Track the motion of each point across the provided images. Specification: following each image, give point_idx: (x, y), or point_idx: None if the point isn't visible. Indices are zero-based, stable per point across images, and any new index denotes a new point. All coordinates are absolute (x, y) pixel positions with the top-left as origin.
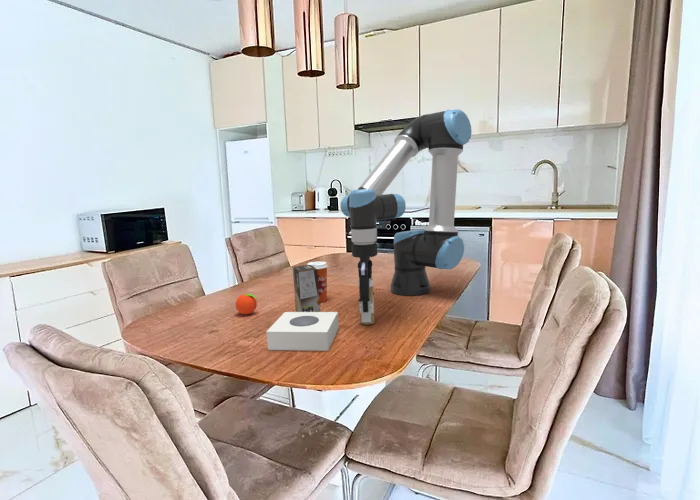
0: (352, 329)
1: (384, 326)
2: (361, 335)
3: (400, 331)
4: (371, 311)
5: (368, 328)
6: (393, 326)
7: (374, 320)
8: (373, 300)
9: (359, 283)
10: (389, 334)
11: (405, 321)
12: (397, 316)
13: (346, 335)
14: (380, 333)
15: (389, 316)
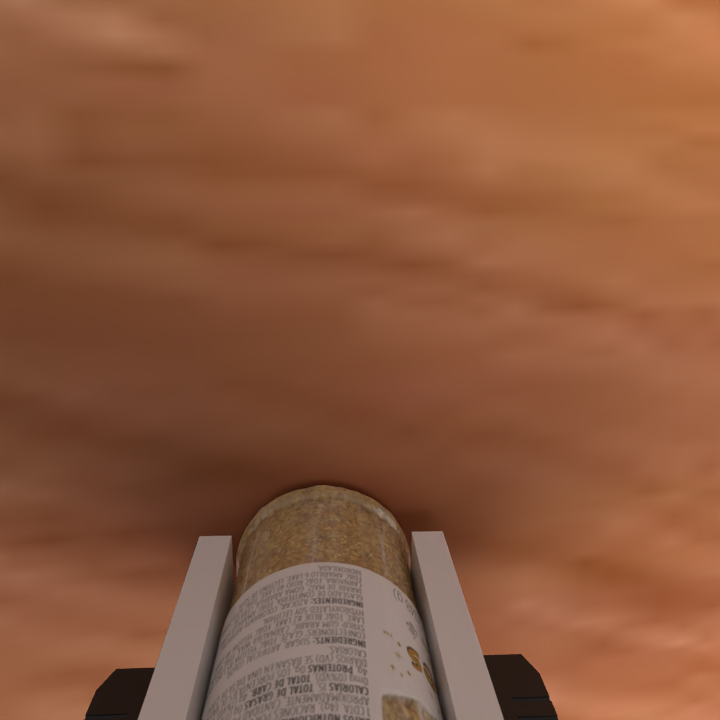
0: None
1: (450, 359)
2: (697, 565)
3: (635, 154)
4: (402, 606)
5: (505, 524)
6: (454, 249)
7: (314, 493)
8: (345, 711)
9: None
10: (713, 287)
11: (258, 83)
12: (51, 205)
13: (677, 688)
14: (669, 388)
15: (66, 317)
